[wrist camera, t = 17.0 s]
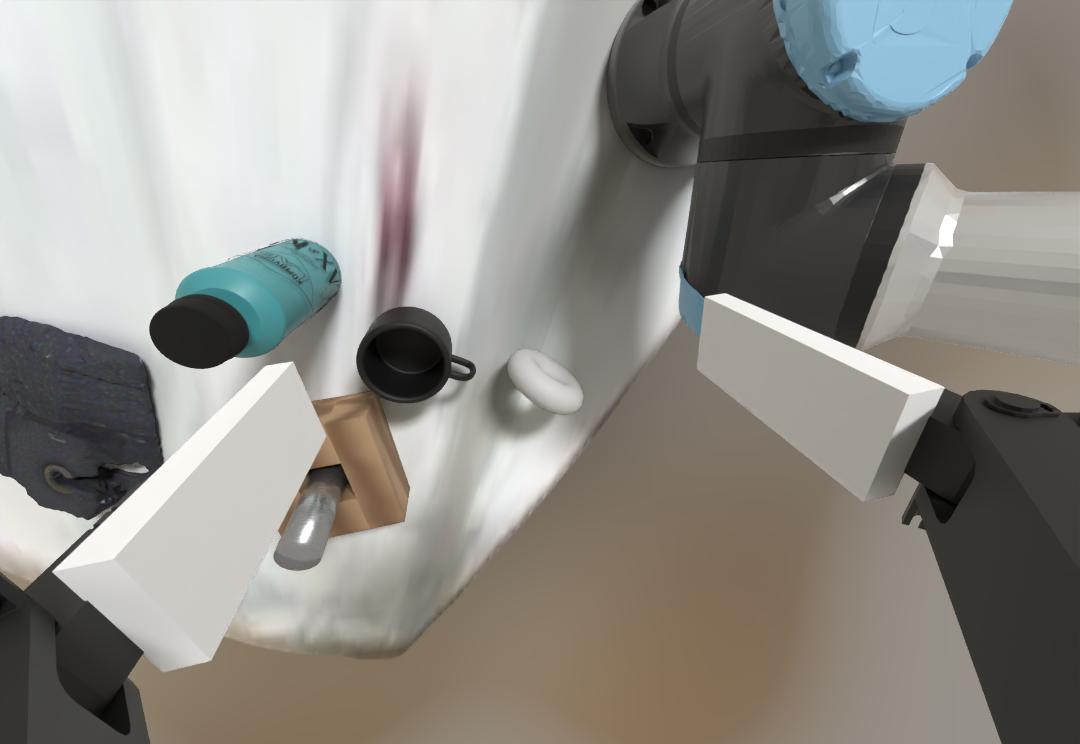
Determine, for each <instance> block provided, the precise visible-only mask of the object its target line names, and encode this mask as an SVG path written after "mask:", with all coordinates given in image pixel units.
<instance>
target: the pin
mask: <svg viewBox="0 0 1080 744" xmlns="http://www.w3.org/2000/svg"><path fill="white" fill-rule="evenodd" d="M347 480H348V478H347V476H346V474H345V472H344V469H343V467H342V465H341V463H340V464H335V465H329V466H324V467H319V468H314V469H313V470H312V472H311V474H310V477H309V479H308V481H307V483H306V485H305V487H304V489H303V492H302V494H301V496H300V498H299V500H298V502H297V505H296V507H295V509H294V511H293V513H292V515H291V518H290V520H289V522H288V524H287V526H286V528H285V531H284V533H283V535H282V537H281V539H280V541H279V543H278V546H277V548H276V550H275V552H274V560H275V562H276V563H277V564H278V565H279V566H281V567H283V568H285V569H289V570H296V571H299V570H306V569H310V568H312V567H314V566H316V565H317V564H318V563H319V562H320V561H321V558H322V555H323V552H324V549H325V546H326V543H327V540H328V537H329V534H330V531H331V528H332V525H333V522H334V519H335V516H336V513H337V510H338V507H339V504H340V501H341V498H342V495H343V492H344V489H345V486H346V483H347Z"/></svg>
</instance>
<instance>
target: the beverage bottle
mask: <svg viewBox="0 0 1080 744" xmlns="http://www.w3.org/2000/svg"><path fill="white" fill-rule="evenodd" d="M302 239H303V238H302ZM288 240H289V241H286V240H285V242H282V241H281V242H282V243H279V242H280V241H279V242H276V243H279V244H277V245H274V246H272V245H271V244H270V245H271V246H268V247H265V248H262V249H258V250H257V251H256V252H254V251H252V252H253V253H250V254H247V255H244V256H241V255H239V256H241V257H238V258H235V259H233V260H231V261H228V260H229V259H230V258H229V259H228V260H227V261H228V262H225V263H222V264H219V265H216V266H213V267H208V268H204V269H200V270H198V271H196V272H193V273H191V274H190V275H188V276H187V277H186V278H185V279H184V280H183V281H182V282H181V283H180V285H179V287H178V289H177V292H176V296H175V300H174V301H173V302H171V303H170V304H169V305H168V306H166V307H164V308H162V309H161V310H159V311H158V312H157V313H156V314H155V315H154V316H153V318H152V320H151V322H150V327H149V331H150V336H151V339H152V341H153V343H154V345H155V346H156V348H157V349H158V350H159V351H160V352H161V353H162V354H163V355H164V356H165V357H167V358H168V359H170V360H172V361H173V362H175V363H177V364H180V365H182V366H186V367H189V368H196V369H206V368H212V367H215V366H218V365H220V364H222V363H224V362H225V361H227V360H229V359H231V358H233V357H239V358H248V357H256V356H260V355H263V354H266V353H268V352H270V351H271V350H273V349H274V348H275V347H276V346H277V345H279V343H280V342H281V341H282V340H283V339H284V338H285V337H286V336H287V335H289V334H290V333H291V332H292V331H293V330H294V329H296V328H297V327H298V326H299V325H300V324H302V323H303V322H304V321H306V320H307V319H308V318H309V317H310V316H311V315H312V314H314V313H315V312H317V313H318V311H317V310H318V309H319V308H320V310H321V309H322V308H323V307H324V306H325V305H326V304H325V303H326V302H328V301H329V300H330V299H331V298H332V297H333V296H334V295H337V294H336V293H337V291H338V289H339V286H340V283H342V281H341V278H342V275H341V274H340V271H341V270H340V269H339V265H338V263H337V261H336V260H335V258H334V257H333V256H332V254H331V253H330V252H329V251H328V250H326V249H325V248H323V247H322V246H320V245H318V243H317V244H316V242H315V243H314V242H311V241H308V239H307V240H301V239H295V238H294V239H292V240H290V239H288ZM273 244H275V243H273ZM233 257H234V256H233ZM340 288H341V287H340ZM330 301H331V300H330ZM321 306H323V307H322V308H321ZM320 310H319V311H320ZM317 313H316V314H317ZM313 316H314V315H313ZM311 317H312V316H311ZM306 323H307V322H306Z"/></svg>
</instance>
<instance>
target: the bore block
mask: <svg viewBox="0 0 1080 744" xmlns="http://www.w3.org/2000/svg"><path fill="white" fill-rule="evenodd" d="M311 403H312V405H313V407H314V409H315V411H316V414H317V416H318V418H319V420H320V423H321V425H322V427H323V429H324V432H325V434H326V438H325V440H324V442H323V444H322V446H321V448H320V450H319V452H318V454H317V456H316V458H315V460H314V462H313V463H312V465H311V467H310V469H309V471H308V473H307V475H306V477H305V479H304V481H303V483H302V485H301V487H300V489H299V491H298V493H297V495H296V496H295V498H294V500H293V502H292V504H291V506H290V508H289V510H288V512H287V514H286V516H285V518H284V520H283V522H282V524H281V526H280V528H279V529H278V532H279V533H280V535H281V537H282V535H283V533H284V531H285V528H286V526H287V524H288V522H289V520H290V518H291V515H292V513H293V511H294V509H295V507H296V505H297V502H298V500H299V498H300V496H301V494H302V492H303V489H304V487H305V485H306V483H307V481H308V479H309V477H310V474H311V472H312V470H313V469H314V468H319V467H324V466H329V465H335V464H340V463H341V465H342V467H343V469H344V472H345V474H346V476H347V478H348V480H347V483H346V486H345V489H344V492H343V495H342V498H341V501H340V504H339V507H338V510H337V513H336V516H335V519H334V522H333V525H332V528H331V531H330V534H329V537H328V538H330V537H335V536H339V535H344V534H349V533H353V532H358V531H363V530H367V529H372V528H377V527H381V526H386V525H391V524H395V523H400V522H405V516H406V509H407V503H408V497H409V491H410V486H409V484H408V481H407V478H406V475H405V472H404V469H403V466H402V463H401V461H400V458H399V455H398V452H397V449H396V446H395V443H394V440H393V437H392V435H391V432H390V429H389V426H388V423H387V420H386V417H385V414H384V412H383V409H382V406H381V403H380V400H379V397H378V395H377V394H375V393H374V392H373V391H370V392H364V393H358V394H352V395H347V396H341V397H335V398H329V399H323V400H317V401H311Z"/></svg>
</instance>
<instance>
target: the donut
mask: <svg viewBox="0 0 1080 744" xmlns="http://www.w3.org/2000/svg"><path fill="white" fill-rule="evenodd" d="M507 370H508V374H509V376H510V378H511V380H512V382H513V383H514V384H515V386H516V387H517V388H518V390H519V391H520V392H521V393H522V394H523V395H524V396H526V397H527V398H528V399H529V400H531V401H532V402H533V403H535V404H536V405H538V406H540V407H541V408H543V409H545V410H547V411H550V412H552V413H555V414H560V415H569V414H572V413H574V412H576V411H578V410H579V409H580V407H581V405H582V402H583V398H584V396H583V391H582V389H581V387H580V385H579V383H578V382H577V380H576V379H575V378H574V377H573V376H572V375H571V374H570V373H569V372H568V371H567V370H566V369H565V368H564V367H562V366H561V365H560V364H558V363H557V362H556V361H554V360H553V359H551V358H549V357H548V356H546V355H544V354H542V353H540V352H537V351H534V350H531V349H520V350H518V351H516V352H515V353H513V354H512V355H511V356H510V358H509V360H508V368H507Z"/></svg>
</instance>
